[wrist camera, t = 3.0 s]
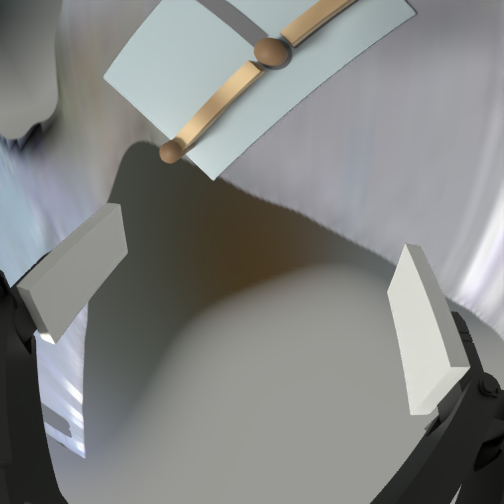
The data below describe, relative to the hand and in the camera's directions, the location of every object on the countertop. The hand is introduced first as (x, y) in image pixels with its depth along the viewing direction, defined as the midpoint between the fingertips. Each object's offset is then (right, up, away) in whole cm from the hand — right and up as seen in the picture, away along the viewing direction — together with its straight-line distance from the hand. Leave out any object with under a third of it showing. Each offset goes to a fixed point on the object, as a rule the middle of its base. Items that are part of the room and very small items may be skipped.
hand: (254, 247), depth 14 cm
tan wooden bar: (-3, +14, +14) cm, 20 cm away
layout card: (-1, +21, +10) cm, 23 cm away
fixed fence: (+6, +21, +8) cm, 24 cm away
